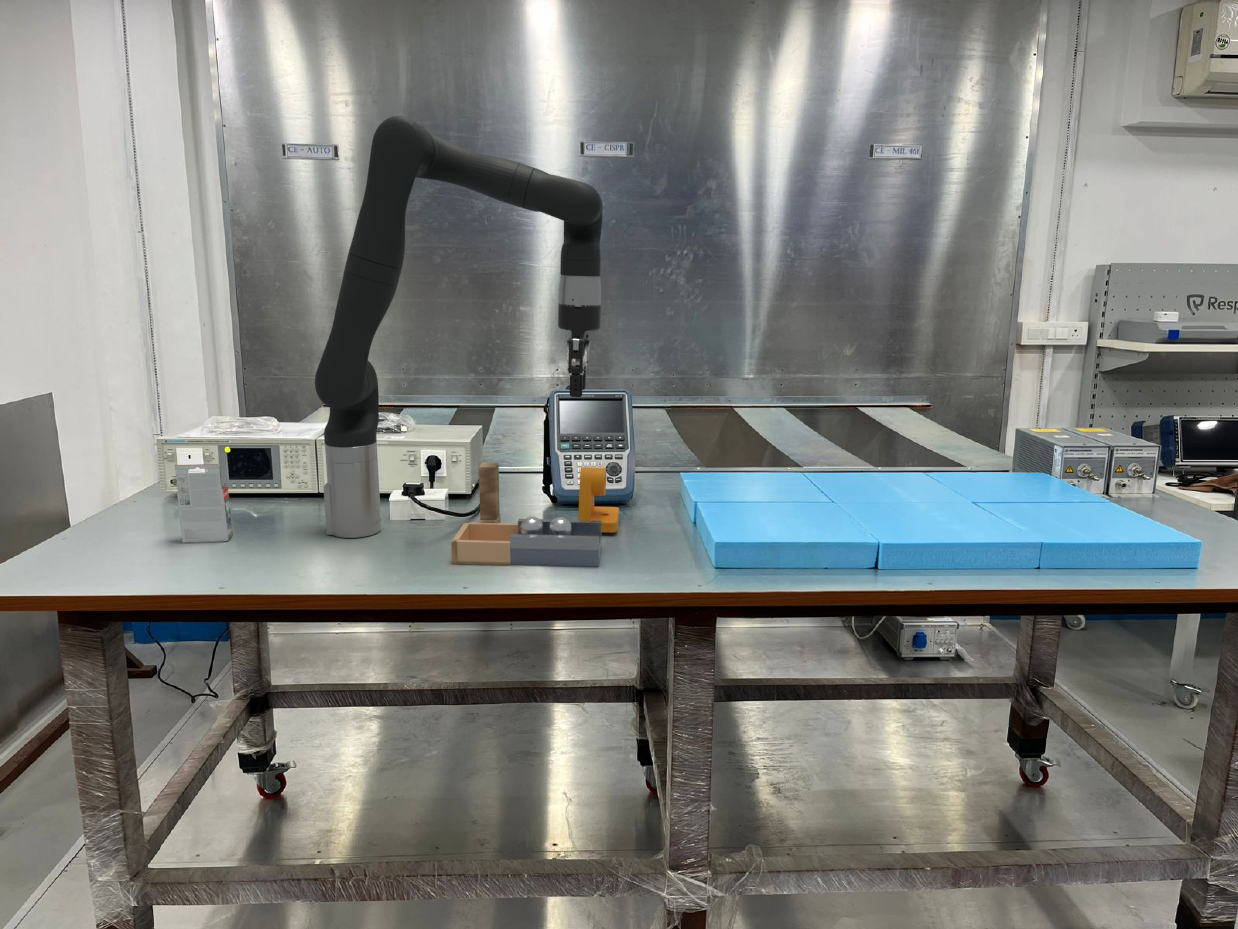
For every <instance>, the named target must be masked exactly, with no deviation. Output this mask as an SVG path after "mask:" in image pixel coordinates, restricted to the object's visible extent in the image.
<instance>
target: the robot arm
mask: <svg viewBox="0 0 1238 929" xmlns="http://www.w3.org/2000/svg"><path fill="white" fill-rule="evenodd" d="M370 147H371V148H370V155H369V161H368V171H367V178H366V184H365V189H364V190H365V191H364V194H363V195H364V196H363V198H362V203H361V206H360V210H359V213H358V217H357V220H356V224H355V228H354V231H353V232H354V233H353V235H352V240H351V243H350V246H349V250H348V254H347V258H346V260H345V262H346V263H345V266H344V269H343V274H342V275H343V276H342V280H341V286H340V289H339V294H338V297H337V302H336V307H335V312H334V317H333V322H332V326H331V331H330V333H329V337H328V339H327V342H326V345H325V347H324V350H323V352H322V355H321V358H320V361H319V364H318V366H317V369H316V372H315V375H314V387H315V392H316V395H317V397H318V399H319V400H320V401H321V402H322V403H323V404H324V405H325V406H326V407H328V408H329V416H328V420H327V423H326V425H325V428H324V430H323V437H324V438H323V439H324V453H325V454H324V455H325V464H326V468H325V469H326V483H325V484H324V485H323V501H324V514H325V528H326V535H328V536H329V535H330V536H334V537H337V538H344V539H345V538H347V539H349V538H350V539H352V538H353V539H354V538H355V539H356V538H365V537H369V536H372V535H375V534H377V533H379V532H380V531H381V530H382V517H381V497H380V496H381V495H380V479H379V477H380V476H379V461H378V460H379V459H378V458H379V457H378V442H377V432H378V427H379V423H380V422H379V421H380V420H379V419H380V413H379V412H380V411H379V410H380V409H379V408H380V407H379V406H380V403H379V402H380V400H379V398H380V396H379V384H378V383H379V381H378V376H377V371H376V369H375V367H374V365H373V364H372V363H371V362H370V360H369V358H370V357H369V356H370V351H371V347H372V345H373V344H372V343H373V340H374V338H375V335H376V333H377V331H378V328H379V327H380V325H381V323H382V321H383V320H384V317H385V315H386V314H387V312H388V310H389V308H390V306H391V304H392V302H393V299H394V297H395V294H396V291H397V290H398V289H397V288H398V284H399V281H400V277H401V273H402V269H403V265H404V260H405V252H406V251H405V250H406V214H407V213H406V212H407V207H408V202H409V200H410V195H411V193H412V189H413V186H414V183H415V180H416V178H417V179H418V178H419V179H424V180H425V179H426V180H433V181H439V182H445V183H448V184H453V185H456V186H459V187H461V188H462V187H463V188H465V189H468V190H471V191H474V192H477V193H479V194H481V195H484V196H487V197H489V198H491V199H494V200H496V201H499V202H502V203H506V204H508V205H511V206H515V207H518V208H520V209H525V210H527V211H531V212H536V213H537V212H538V213H539V212H540V213H542V214H545V215H547V216H551V217H553V218H555V219H558V220H561V221H563V243H562V245H561V250H560V266H559V267H560V272H559V275H560V276H559V284H558V298H557V299H558V306H557V309H558V310H557V311H558V312H557V315H558V317H557V326H558V328H559V329H560V330H564V331H570V332H571V334H570V335H571V336H570V338H568V339H567V340H566V349H567V356H566V359H567V367H568V368H567V373H568V374H569V396H570V398H571V397H572V398H581V397H582V396H583V391H584V390H585V389H586V384H587V382H586V381H587V380H586V379H587V377H586V375H587V373H586V372H587V368H588V363H589V360H590V349H591V339H589V337H590V336H589V333H588V332H587V331H589V332H591V331H598V330H599V329H601V315H602V314H601V312H602V311H601V310H602V308H601V307H602V283H601V261H602V260H601V258H602V257H601V235H602V226H603V211H604V209H603V208H604V206H603V199H602V197H601V194H600V193H599V192H598V191H597V189H596V188H595V187H594V186H592V185H591V184H589V183H585V182H584V181H583V182H582V181H579V180H576V179H572V178H569V177H564V176H560V175H557V174H556V175H555V174H551V173H548V172H546V171H544V170H542V169H539V168H536V167H533V166H530V165H529V164H524V163H521V162H517V161H515V160H511V159H507V158H504V157H499V156H495V155H491V154H485V153H480V152H477V151H472V150H469V149H466V148H464V147H461V146H458V145H456V144H454V143H451V142H449V141H447V140H445V139H443V138H441V137H439V136H438V135H435V134H433V133H432V132H430V131H428V130H427V129H426V128H425V127H424V126H422V125H421V124H419V123H418V122H416V121H414V120H412V119H411V118H409V117H407V116H404V115H393V116H390V117H387V118H386V119H384V120H383V121H382V122H380V124H379V125H378V126H377V128H376V129H375V132H374V134H373V137H372V141H371V146H370Z"/></svg>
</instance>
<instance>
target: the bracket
mask: <svg viewBox="0 0 1238 929" xmlns="http://www.w3.org/2000/svg"><path fill="white" fill-rule="evenodd" d="M606 486H607V467H586V466H584V467H583V466H581V467H580V474H579V491H578V492H579V493H578V494H579V495H578V518H577V520H600V521H602V533H618V529H619V522H620V521H619V519H620V508H619V507H617V506H595V496H601V497H602V496H606V489H607V488H606Z"/></svg>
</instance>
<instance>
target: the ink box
mask: <svg viewBox="0 0 1238 929" xmlns="http://www.w3.org/2000/svg"><path fill="white" fill-rule="evenodd" d="M196 468H198V469H200V470H201V469H203V470H204V469H205V470H207V471H206V472H189V470H195V469H196ZM174 470H175V479H176V489H177V491H176V498H177V507H178V515H179V516H178V517H179V525H180V532H181V541H182V543H183V544H197V543H198V544H200V543H203V544H204V543H222V542H223V543H224V542H229V541H230V539H231V538H233V534H234V533H233V523H232V515H231V514H232V513H231V511H232V510H231V505H230V495H229V494H230V493H229V486H228V485H223V484H222V475H221V463H204V464H203V463H202V464H200V463H199V464H175V465H174Z"/></svg>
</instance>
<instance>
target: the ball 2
mask: <svg viewBox="0 0 1238 929" xmlns="http://www.w3.org/2000/svg"><path fill="white" fill-rule="evenodd" d="M569 520H570V519H567V518H566V517H563V516H562V517H561V516H559V517H556V518H553V520H552V521H551V523H550V525H549V532H550V534H551V535H570V534H571V531H572V526H571V523H570V522H569Z"/></svg>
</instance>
